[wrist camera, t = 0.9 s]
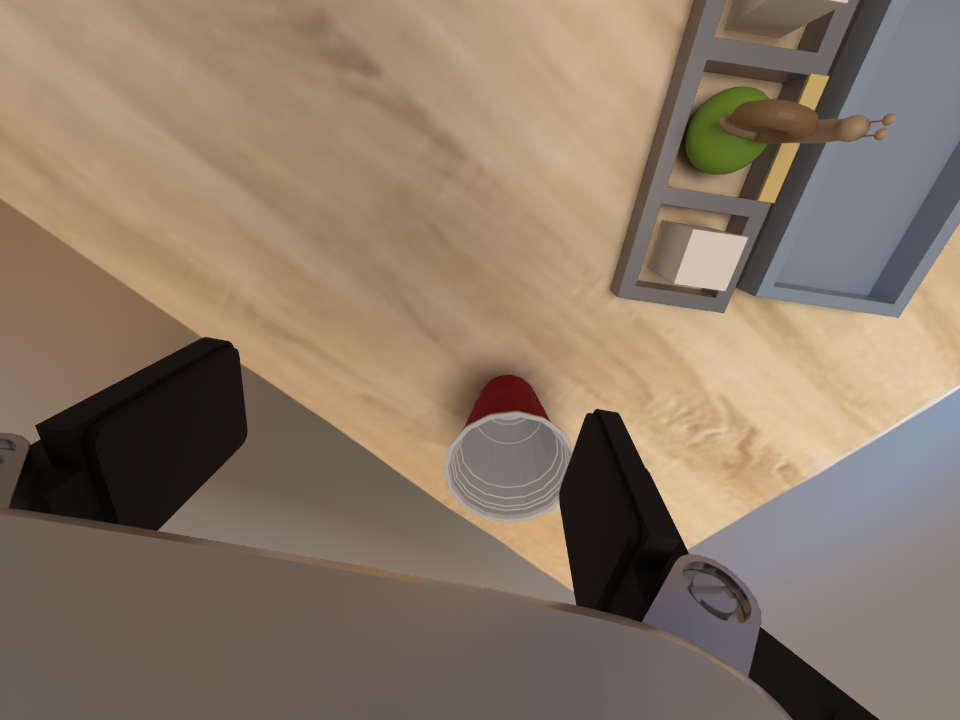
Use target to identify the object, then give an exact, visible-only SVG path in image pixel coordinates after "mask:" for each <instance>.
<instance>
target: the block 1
mask: <svg viewBox="0 0 960 720" xmlns="http://www.w3.org/2000/svg"><path fill="white" fill-rule="evenodd" d="M747 239H748V237H745V236H741V235H737V234H733V233H728V232H724V231H720V230H716V229H712V228H708V227H701V226H694V225H688V224H681V223H674V222H667V221H662V224H661V227H660V230H659V234H658V237H657V240H656V243H655V246H654V249H653V252H652V255H651V258H650V261H649V264H648V268H650V269H651V270H653V271H654V272H656V273H658V274H659V275H661V276H662V277H664V278H666V279H667V280H669V281H670V282H672V283H674V284H680V285H686V286H693V287H700V288H707V289H713V290H720V291H726V289H727V287H728V284H729V282H730V280H731V277H732V275H733V273H734V270H735V268H736V265H737V263H738V261H739V258H740V256H741V254H742V251H743V249H744V247H745V244H746V242H747Z"/></svg>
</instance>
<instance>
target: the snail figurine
mask: <svg viewBox="0 0 960 720" xmlns="http://www.w3.org/2000/svg"><path fill="white" fill-rule="evenodd" d="M896 118H897V115H896V114H895V113H890V114H887V115H886V116H884V117H883V119H882V120H878V121H870V120H869V119H868V118H867V117H865V116H862V115H854V116H850V117H848V118H845V119H821V120H819V119H818V115H817V113H816V112H815V111H814V110H813V109H811V108H809V107H807V106H804V105H801V104H799V103H795V102H791V101H786V100H774V99H769V98H768V97H767V96H766V95H765V94H764V93H763V92H761V91H760V90H757V89H755V88H751V87H734V88H730V89H727V90H724V91H722V92H720V93H718V94H716V95H714V96H713V97H711V98H710V99H709V100H707V101H706V102H705V103H704V104H703V105H702V106H701V107H700V108H699V109H698V111H697V112H696V113H695V115H694V116H693V118H692V120H691V122H690V124H689V126H688V129H687V133H686V138H685V147H686V152H687V155H688V158H689V160H690V161H691V163H692V164H693V165H694V166H695V167H696V168H698V169H699V170H701V171H703V172H705V173H708V174H715V175H721V174H728V173H732V172H735V171H737V170H739V169H742V168H743V167H745V166H747V165H748V164H750V163H751V162H752V161H754V160H755V159H756V158H757V157H758V156H759V155H760V154H761V153H762V151H763V150H764V149H765V147H766V146H767V144H782V143H808V144H816V143H827V142H833V141H842V142H853V141H856V140H858V139H860V138H862V137H871V136H874V139H875V140H882V139H884V138H885V137H886V136H887V135H888V132H889V131H888V129H886V128H882V129H879V130H877V131H876V132H875V134H874V135H866V134H867V133H868V131H869V130H870V127H871V123H876V122H882V124H883V125H885V126H888V125H891V124H892V123H894V122H895V120H896Z"/></svg>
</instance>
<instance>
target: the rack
mask: <svg viewBox="0 0 960 720" xmlns="http://www.w3.org/2000/svg"><path fill="white" fill-rule="evenodd" d="M725 1H726V0H694V2H693V6H692V9H691V13H690V16H689V20H688V23H687V26H686V30H685V33H684V37H683V40H682V44H681V47H680V51H679V54H678V58H677V61H676V65H675V68H674V71H673V75H672V78H671V82H670V85H669V89H668V92H667V96H666V99H665V103H664V106H663V110H662V113H661V117H660V120H659V123H658V127H657V130H656V134H655V137H654V141H653V144H652V148H651V151H650V155H649V158H648V162H647V165H646V168H645V172H644V175H643V179H642V182H641V186H640V189H639V193H638V196H637V200H636V203H635V207H634V210H633V214H632V217H631V220H630V224H629V227H628V231H627V234H626V238H625V241H624V245H623V248H622V252H621V255H620V259H619V262H618V265H617V269H616V272H615V276H614V279H613V283H612V286H611V291H612V292H613V293H614V294H615V295H616V296H617V297H619V298H625V299H632V300H639V301H646V302H652V303H659V304H666V305H672V306H679V307H686V308H693V309H699V310H706V311H713V312H719V313H724V312H725V310H726V307H727V305H728V303H729V300H730V298H731V296H732V293H733V291H734V289H735V287H736V284H737V282H738V280H739V277H740V275H741V273H742V270H743V268H744V266H745V263H746V261H747V259H748V256H749V254H750V252H751V249H752V247H753V245H754V243H755V240H756V238H757V236H758V233H759V231H760V229H761V226H762V224H763V222H764V219H765V217H766V215H767V212H768V210H769V208H770V205H771V203H775V200H776V198H777V196H778V194H779V191H780V189H781V187H782V184H783V182H784V180H785V177H786V175H787V173H788V171H789V168H790V166H791V164H792V161H793V159H794V157H795V154H796V152H797V150H798V148H799V145H800V143H782V144H767V146H766V147H765V149H764V150H763V151H762V153H761V154H760V155H759V156H758V157H757V158H756V159H755V160H754V161H753V164H752V166H751V169H750V171H749V174H748V176H747V179H746V181H745V184H744V186H743V189H742V191H741V194H740V196H739V198H735V197H729V196H722V195H715V194H709V193H702V192H695V191H689V190H682V189H675V188H669V187H667V184H668V181H669V178H670V175H671V172H672V169H673V165H674V162H675V159H676V156H677V153H678V150H679V146H680V143H681V140H682V137H683V134H684V131H685V127H686V124H687V121H688V118H689V115H690V112H691V108H692V105H693V102H694V99H695V96H696V93H697V89H698V86H699V83H700V80H701V77H702V74H703V71H708V72H715V73H721V74H728V75H734V76H741V77H748V78H754V79H761V80H768V81H774V82H781V83H784V85H783V88H782V90H781V93H780V95H779V98H778V100H786V101H791V102H795V103H799V104H801V105H804V106H807V107H809V108H811V109H813V110H814V111H815V108H816V106H817V104H818V102H819V99H820V97H821V95H822V92H823V90H824V88H825V85H826V83H827V81H828V79H829V76H827V73H828V71H829V69H830V66H831V64H832V62H833V60H834V57H835V55H836V53H837V50H838V48H839V46H840V43H841V41H842V39H843V36H844V34H845V32H846V29H847V27H848V25H849V22H850V20H851V18H852V16H853V13H854V11H855V9H856V6H857V4H858V2H859V0H848V3H846V4H845V5H843V6H841V7H839V8H837V9H835V10H833V11H831V12H829V13H827V14H825V15H823V16H821V17H819V18H817V19H815V20H813V21H812V22H810V23H808V24H807V27H806V30H805V32H804V35H803V37H802V40H801V42H800V45H799V47H798V50H794V49H788V48H781V47H774V46H768V45H761V44H755V43H748V42H741V41H735V40H728V39H722V38H715V37H714V36H715V32H716V29H717V26H718V23H719V20H720V17H721V14H722V10H723V7H724V4H725ZM661 204H666V205H673V206H679V207H686V208H693V209H699V210H706V211H713V212H719V213H726V214H732V217H731V219H730V222H729V224H728V227H727V229H726V232H728V233H733V234H737V235H741V236H745V237H748V239H747V242H746V244H745V247H744V249H743V251H742V254H741V256H740V258H739V261H738V263H737V265H736V268H735V270H734V273H733V275H732V277H731V280H730V282H729V284H728V287H727V289H726V291H720V290H713V289H707V288H703V290H697V289H691V288H684V287H677V286H671V285H664V284H657V283H650V282H644V281H637V279H638V276H639V273H640V270H641V267H642V263H643V260H644V257H645V254H646V251H647V248H648V244H649V241H650V238H651V235H652V232H653V229H654V225H655V222H656V219H657V216H658V213H659V210H660V207H661Z"/></svg>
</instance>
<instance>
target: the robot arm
mask: <svg viewBox="0 0 960 720" xmlns="http://www.w3.org/2000/svg"><path fill="white" fill-rule="evenodd" d="M35 426H36V429H37V431H38V434H39V436H40V440H39V441H37V442H35V443H33V444H32V445H30V443H29V441H28V440H27V439H26V438H24V437H23V436H20V435H16V434H12V433H0V720H879V719H878V718H876V717H875V716H874V715H872V714H871V713H870V712H869V711H868V710H866V709H865V708H864V707H862V706H861V705H860V704H859V703H857V702H856V701H855V700H853V699H852V698H851V697H849V696H848V695H847V694H846V693H844V692H843V691H842V690H840V689H839V688H838V687H837V686H835V685H834V684H833V683H832V682H830V681H829V680H828V679H826V678H825V677H824V676H823V675H821V674H820V673H819V672H818V671H816V670H815V669H814V668H812V667H811V666H810V665H808V664H807V663H806V662H805V661H803V660H802V659H801V658H800V657H798V656H797V655H795V654H794V653H793V652H792V651H791V650H789V649H788V648H787V647H785V646H784V645H783V644H782V643H780V642H779V641H778V640H776V639H775V638H774V637H773V636H771V635H770V634H769V633H768V632H766V631H765V630H764V629H762V628H761V627H760V625H761V611H760V608H759V605H758V603H757V600H756V598H755V597H754V595H753V594H752V592H751V591H750V589H749V588H748V587H747V586H746V585H745V584H744V583H743V582H742V581H741V579H739V578H738V576H737V575H735V574H734V573H733V572H732V571H730V570H729V569H728V568H726V567H725V566H723V565H722V564H720V563H718V562H716V561H714V560H712V559H710V558H707V557H704V556H701V555H694V554H689V553H688V551H687V549H686V547H685V545H684V542H683V540H682V538H681V536H680V534H679V532H678V530H677V528H676V526H675V524H674V522H673V520H672V518H671V516H670V514H669V512H668V510H667V508H666V506H665V504H664V502H663V500H662V497H661V495H660V493H659V491H658V489H657V487H656V485H655V483H654V481H653V479H652V477H651V475H650V473H649V472H648V470H647V469H646V468H645V466H644V464H643V462H642V460H641V458H640V456H639V454H638V452H637V450H636V448H635V445H634V443H633V441H632V439H631V437H630V435H629V433H628V431H627V429H626V427H625V425H624V423H623V421H622V419H621V416H620V415H619V413H616V412H611V411H605V410H600V409H596V410H595V411H594V412H593V414H592V413H588V414H587V415H586V417H585V419H584V422H583V425H582V428H581V430H580V433H579V436H578V439H577V442H576V445H575V447H574V450H573V453H572V456H571V459H570V462H569V464H568V467H567V470H566V473H565V476H564V478H563V481H562V484H561V487H560V491H559V503H560V509H561V515H562V521H563V528H564V534H565V540H566V546H567V552H568V558H569V564H570V570H571V576H572V582H573V588H574V594H575V600H576V605H571V604H566V603H561V602H556V601H551V600H546V599H541V598H536V597H531V596H526V595H520V594H516V593H510V592H505V591H500V590H494V589H489V588H483V587H477V586H472V585H466V584H460V583H455V582H450V581H444V580H438V579H433V578H427V577H422V576H416V575H410V574H404V573H399V572H394V571H388V570H382V569H376V568H371V567H365V566H359V565H354V564H348V563H342V562H337V561H331V560H325V559H319V558H314V557H308V556H302V555H296V554H290V553H285V552H279V551H273V550H266V549H261V548H255V547H250V546H244V545H238V544H232V543H226V542H220V541H214V540H208V539H202V538H196V537H190V536H184V535H178V534H172V533H166V532H160V531H158V530H159V528H161V527H162V526H163V525H164V524H165V522H167V521H168V520H169V519H170V518H171V517H172V515H174V514H175V512H176V511H177V510H179V508H180V507H181V506H182V505H183V504H184V503H185V502H186V501H187V500H188V499H189V498H190V497H191V496H192V495H193V494H194V493H195V492H196V491H197V490H198V489H199V488H200V487H201V486H202V485H203V484H204V483H205V482H206V481H207V480H208V479H209V478H210V477H211V476H212V475H213V474H214V473H215V472H216V471H217V470H218V469H219V468H220V467H221V466H222V465H223V464H224V463H225V462H226V461H227V460H228V459H229V458H230V457H231V456H232V455H233V454H234V453H235V452H236V451H237V450H238V449H239V448H240V447H241V446H242V444H243V443H244V442H245V440H246V437H247V421H246V412H245V403H244V394H243V385H242V376H241V367H240V357H239V352H238V350H237V349H236V348H234V347H233V345H232V343H231V342H229V341H224V340H219V339H213V338H208V337H204V338H201V339H199V340H197V341H195V342H194V343H191V344H190V345H188V346H186V347H184V348H182V349H180V350H178V351H176V352H175V353H173V354H171V355H169V356H167V357H165V358H163V359H161V360H159V361H157V362H155V363H154V364H152V365H150V366H148V367H146V368H144V369H142V370H140V371H138V372H136V373H134V374H133V375H131V376H129V377H127V378H125V379H123V380H121V381H119V382H117V383H116V384H113V385H112V386H110V387H108V388H106V389H104V390H102V391H100V392H98V393H96V394H94V395H93V396H91V397H89V398H87V399H85V400H83V401H81V402H79V403H77V404H75V405H74V406H72V407H70V408H68V409H66V410H64V411H62V412H60V413H58V414H56V415H54V416H53V417H51V418H49V419H47V420H45V421H43V422H41V423H39V424H37V425H35Z"/></svg>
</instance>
